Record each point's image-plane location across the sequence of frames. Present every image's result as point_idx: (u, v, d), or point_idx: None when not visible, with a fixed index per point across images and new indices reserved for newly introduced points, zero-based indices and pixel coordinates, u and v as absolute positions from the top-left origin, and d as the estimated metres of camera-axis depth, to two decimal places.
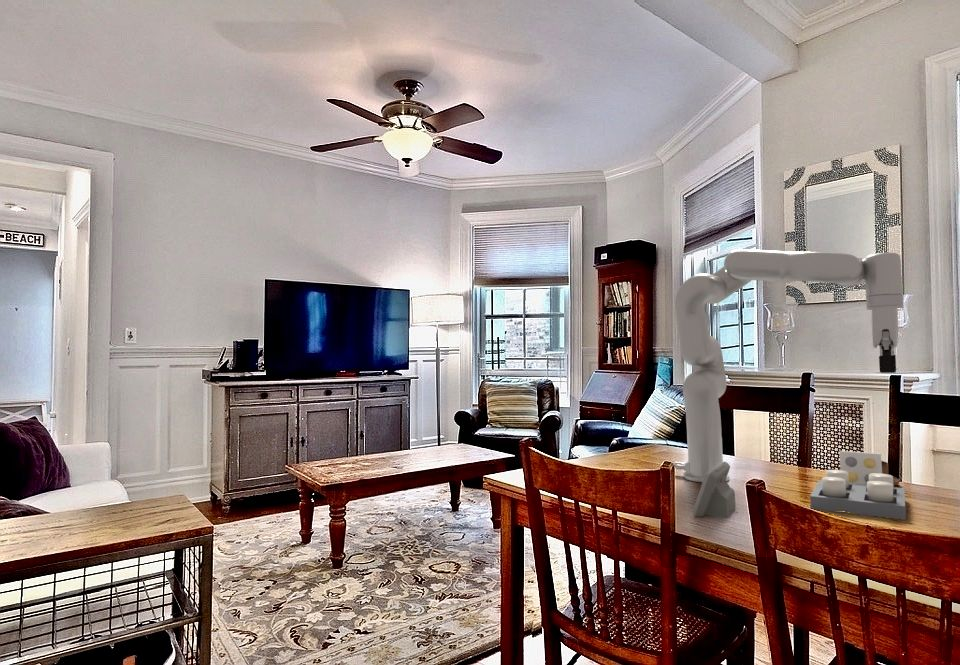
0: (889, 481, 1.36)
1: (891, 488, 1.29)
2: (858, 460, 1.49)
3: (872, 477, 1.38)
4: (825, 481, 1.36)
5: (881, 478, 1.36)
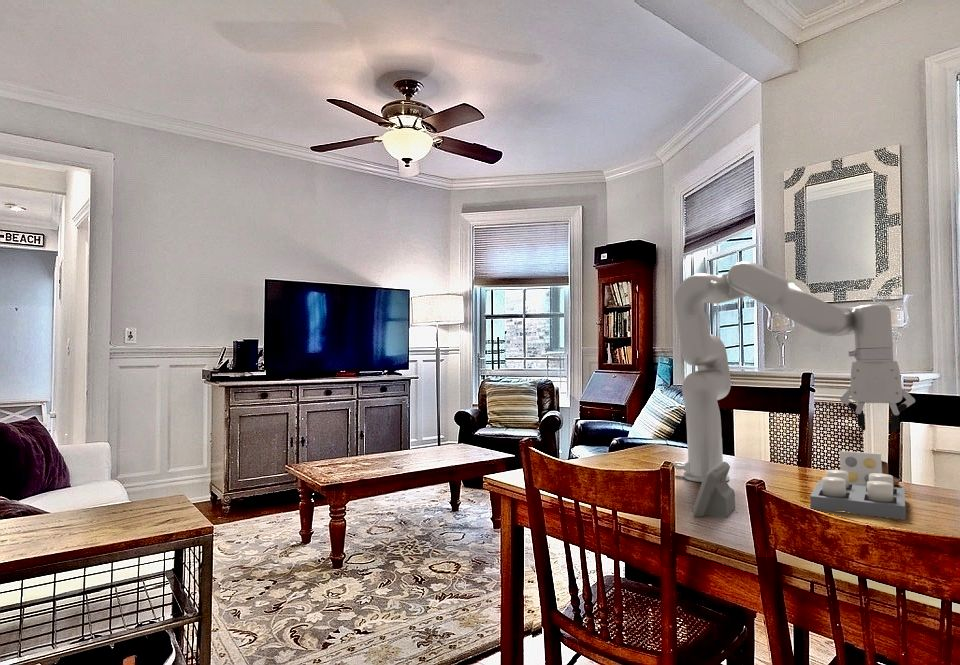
0: (889, 481, 1.36)
1: (891, 488, 1.29)
2: (858, 460, 1.49)
3: (872, 477, 1.38)
4: (825, 481, 1.36)
5: (881, 478, 1.36)
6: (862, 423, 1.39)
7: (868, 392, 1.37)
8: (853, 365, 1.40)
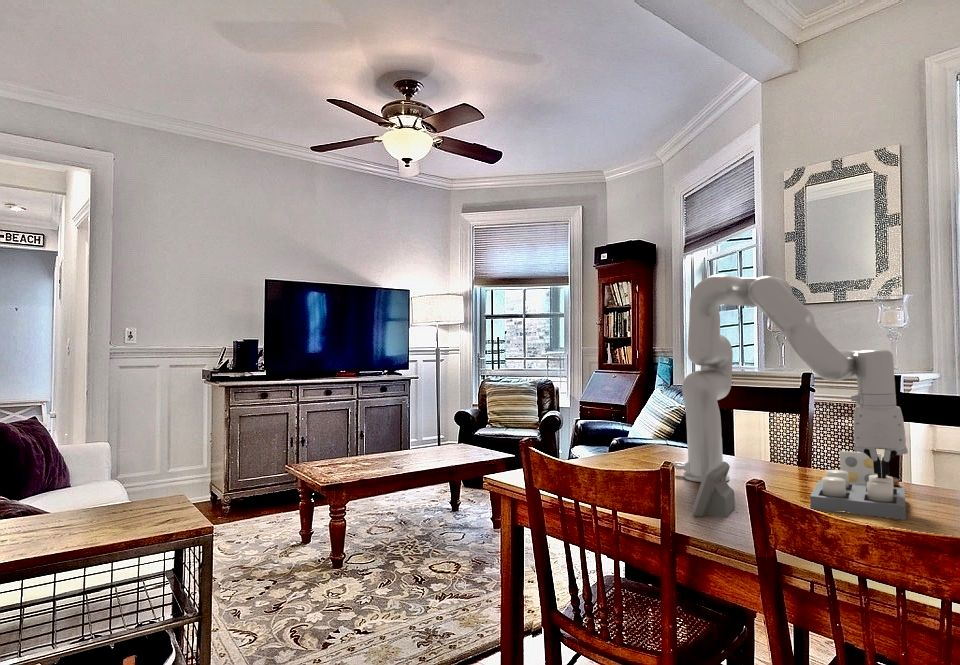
0: None
1: (891, 488, 1.29)
2: (858, 460, 1.49)
3: (872, 479, 1.38)
4: (825, 481, 1.36)
5: (881, 480, 1.36)
6: (878, 470, 1.37)
7: (871, 438, 1.37)
8: (856, 410, 1.39)
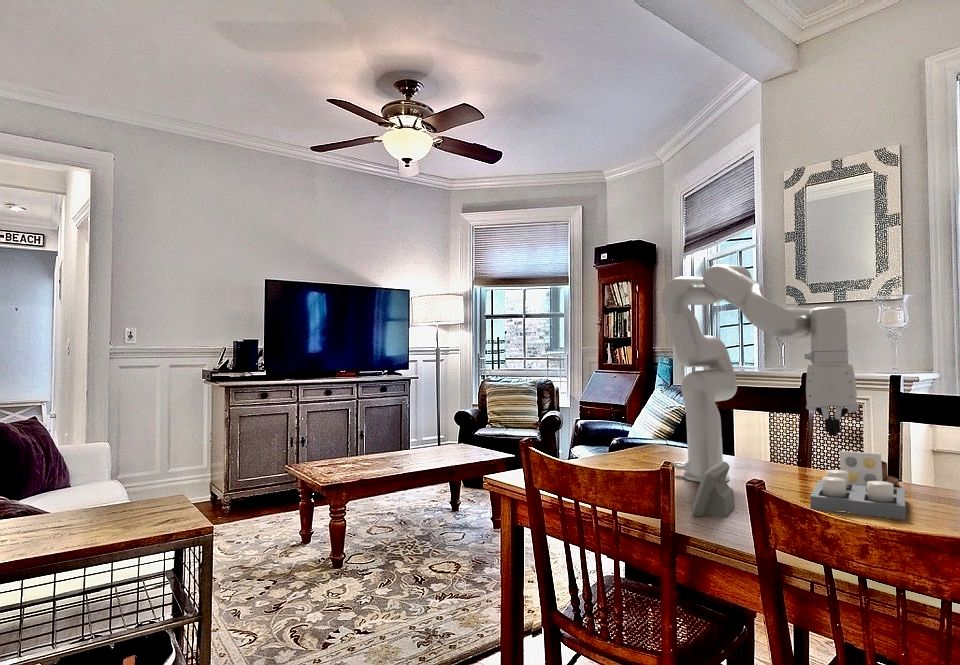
0: None
1: (891, 488, 1.29)
2: (858, 460, 1.49)
3: None
4: (825, 481, 1.36)
5: None
6: (829, 428, 1.36)
7: (823, 395, 1.35)
8: (808, 368, 1.38)
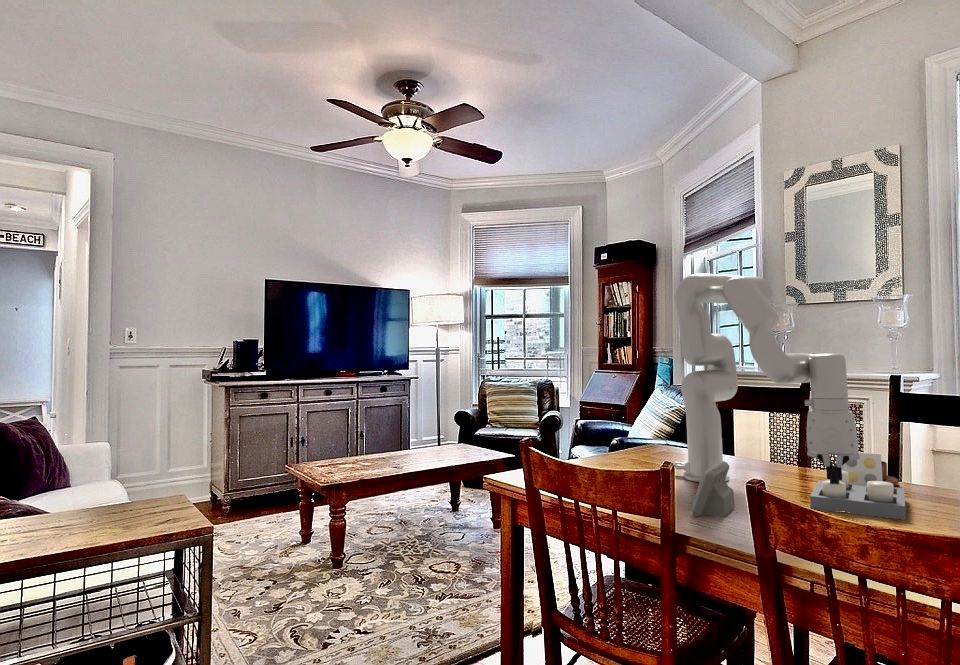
0: None
1: (891, 488, 1.29)
2: (858, 460, 1.49)
3: None
4: (825, 484, 1.36)
5: None
6: (831, 476, 1.35)
7: (824, 443, 1.35)
8: (809, 415, 1.37)
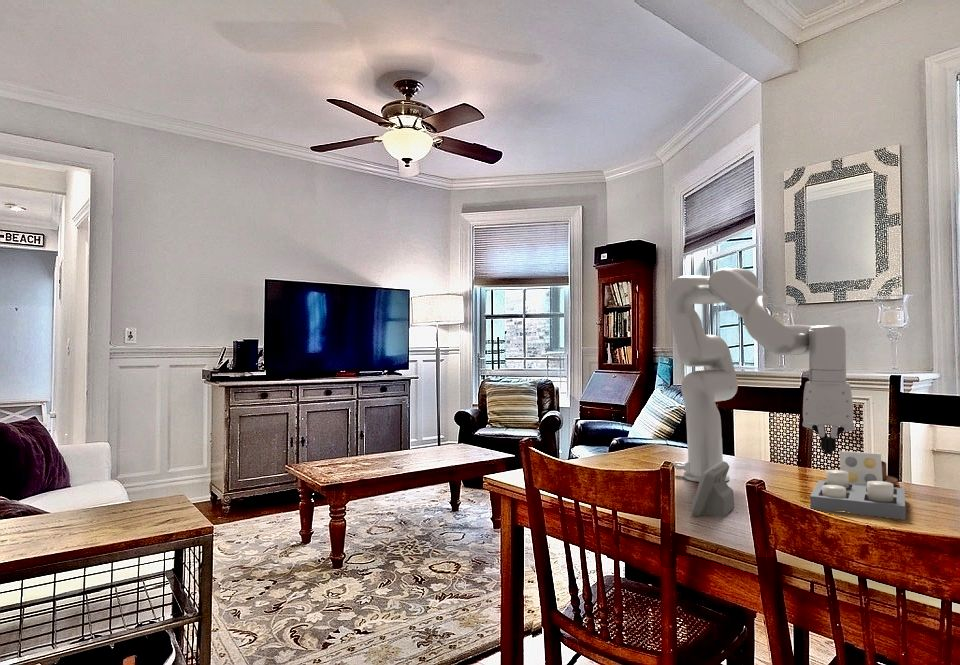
0: None
1: (891, 488, 1.29)
2: (858, 460, 1.49)
3: None
4: (825, 489, 1.36)
5: None
6: (825, 447, 1.36)
7: (819, 414, 1.36)
8: (806, 386, 1.38)
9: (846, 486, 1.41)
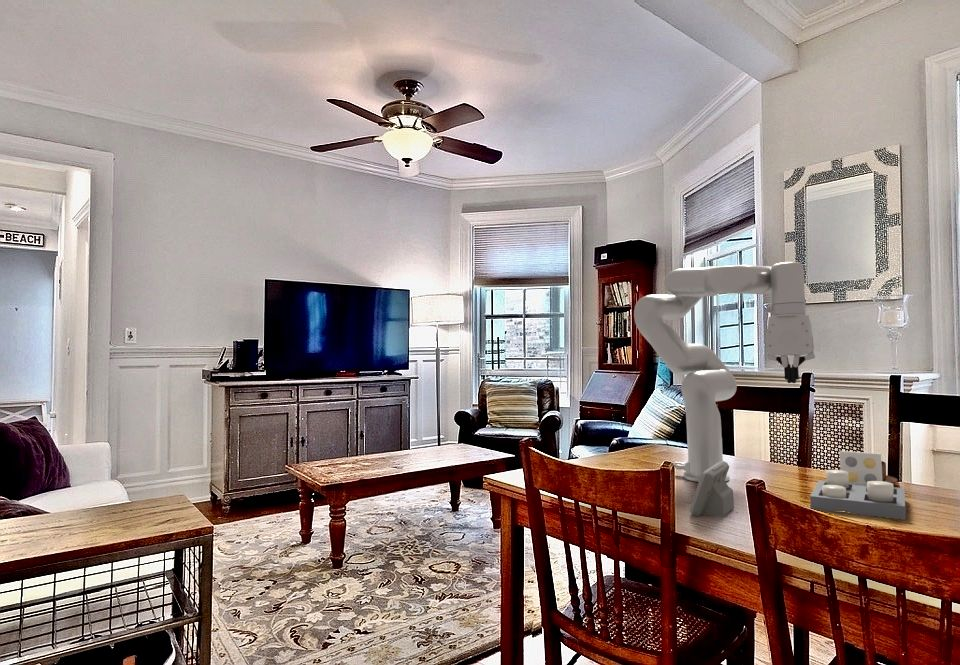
0: None
1: (891, 488, 1.29)
2: (858, 460, 1.49)
3: None
4: (825, 489, 1.36)
5: None
6: (788, 376, 1.45)
7: (782, 345, 1.45)
8: (769, 320, 1.48)
9: (846, 486, 1.41)
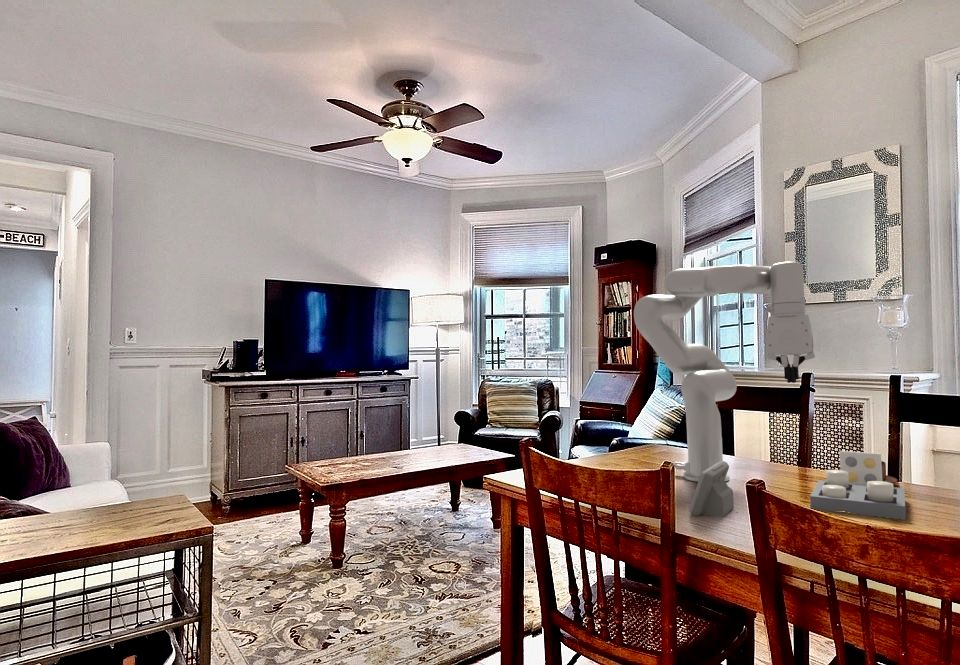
0: None
1: (891, 488, 1.29)
2: (858, 460, 1.49)
3: None
4: (825, 489, 1.36)
5: None
6: (788, 375, 1.45)
7: (781, 345, 1.45)
8: (769, 320, 1.48)
9: (846, 486, 1.41)
